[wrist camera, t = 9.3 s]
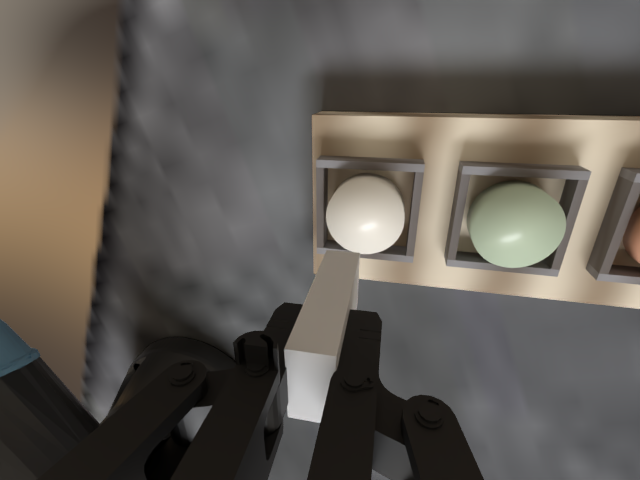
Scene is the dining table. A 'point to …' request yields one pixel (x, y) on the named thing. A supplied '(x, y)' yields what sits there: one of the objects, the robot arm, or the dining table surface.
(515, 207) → the sage button
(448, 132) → the button panel
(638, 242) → the terracotta button
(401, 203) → the cream button
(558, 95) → the dining table surface
